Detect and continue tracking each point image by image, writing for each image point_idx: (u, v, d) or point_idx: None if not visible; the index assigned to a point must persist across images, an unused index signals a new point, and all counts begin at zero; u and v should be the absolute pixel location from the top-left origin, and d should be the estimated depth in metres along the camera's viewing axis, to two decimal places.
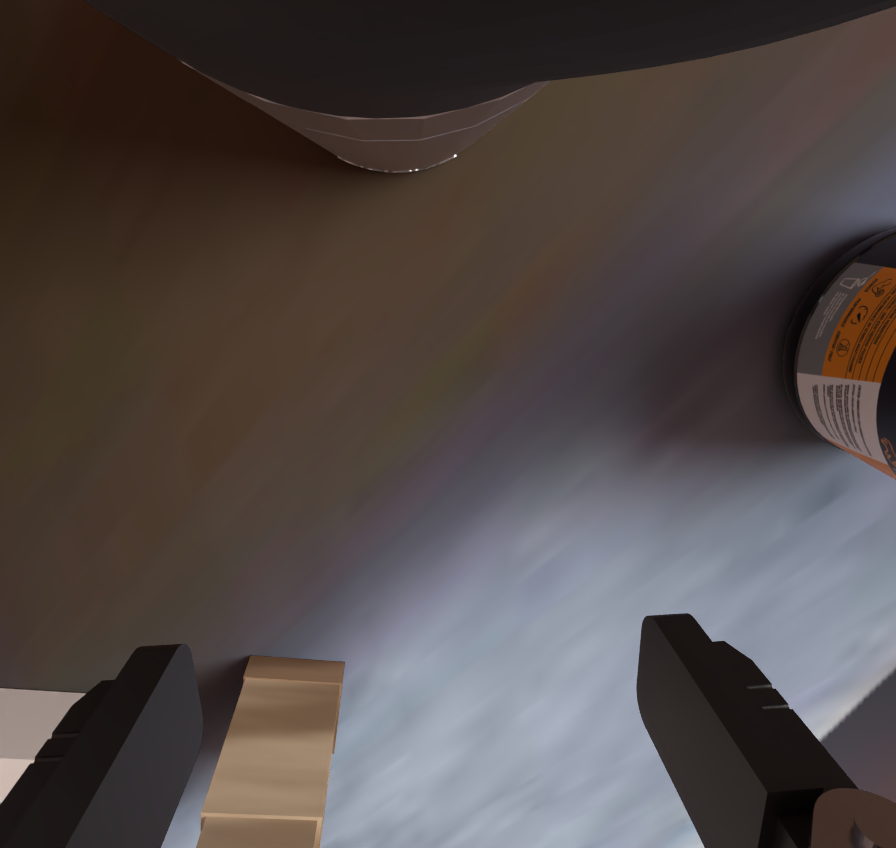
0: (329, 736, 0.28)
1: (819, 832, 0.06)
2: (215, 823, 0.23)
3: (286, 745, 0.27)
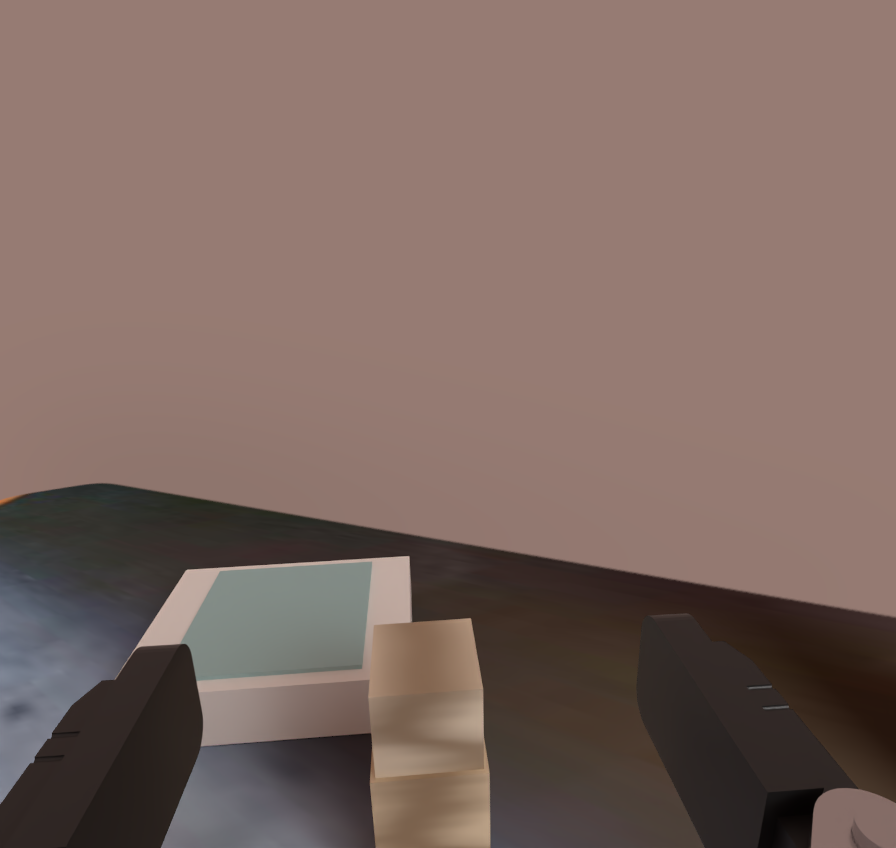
0: (489, 838, 0.25)
1: (819, 832, 0.06)
2: None
3: None
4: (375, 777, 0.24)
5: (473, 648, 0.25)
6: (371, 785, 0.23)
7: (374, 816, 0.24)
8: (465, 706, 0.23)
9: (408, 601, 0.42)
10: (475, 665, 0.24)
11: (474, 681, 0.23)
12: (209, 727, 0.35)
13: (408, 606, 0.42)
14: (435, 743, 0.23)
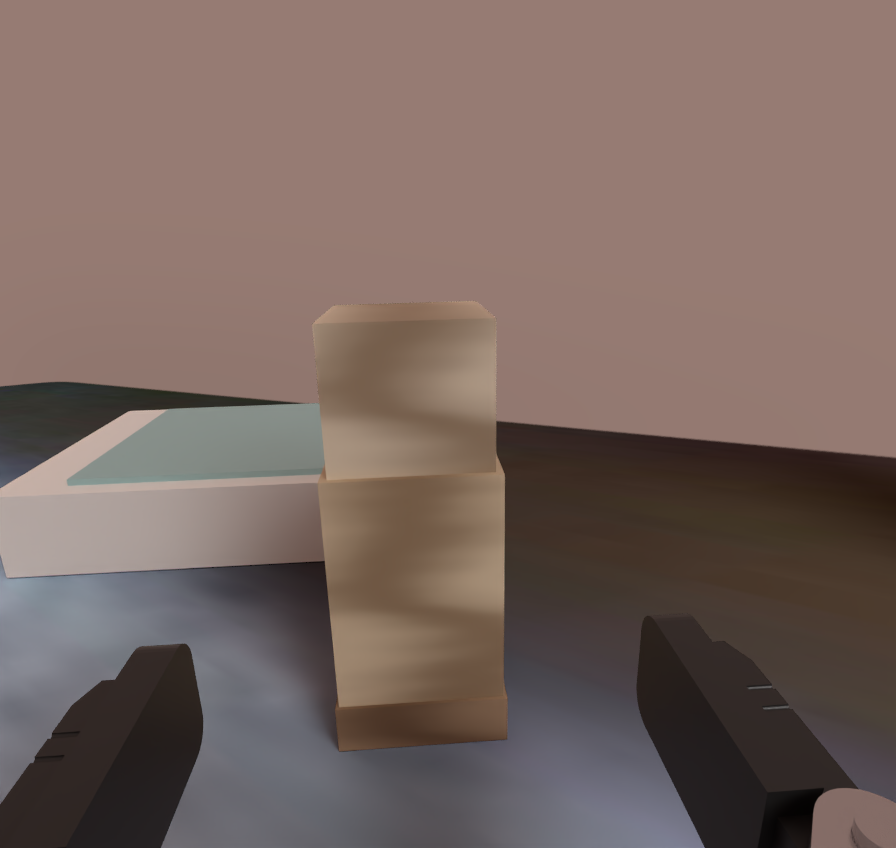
0: (503, 600, 0.16)
1: (818, 832, 0.06)
2: None
3: None
4: (326, 479, 0.15)
5: (480, 308, 0.16)
6: (320, 488, 0.15)
7: (325, 546, 0.15)
8: (468, 350, 0.14)
9: None
10: (482, 312, 0.15)
11: (481, 316, 0.15)
12: (130, 544, 0.27)
13: None
14: (420, 419, 0.15)
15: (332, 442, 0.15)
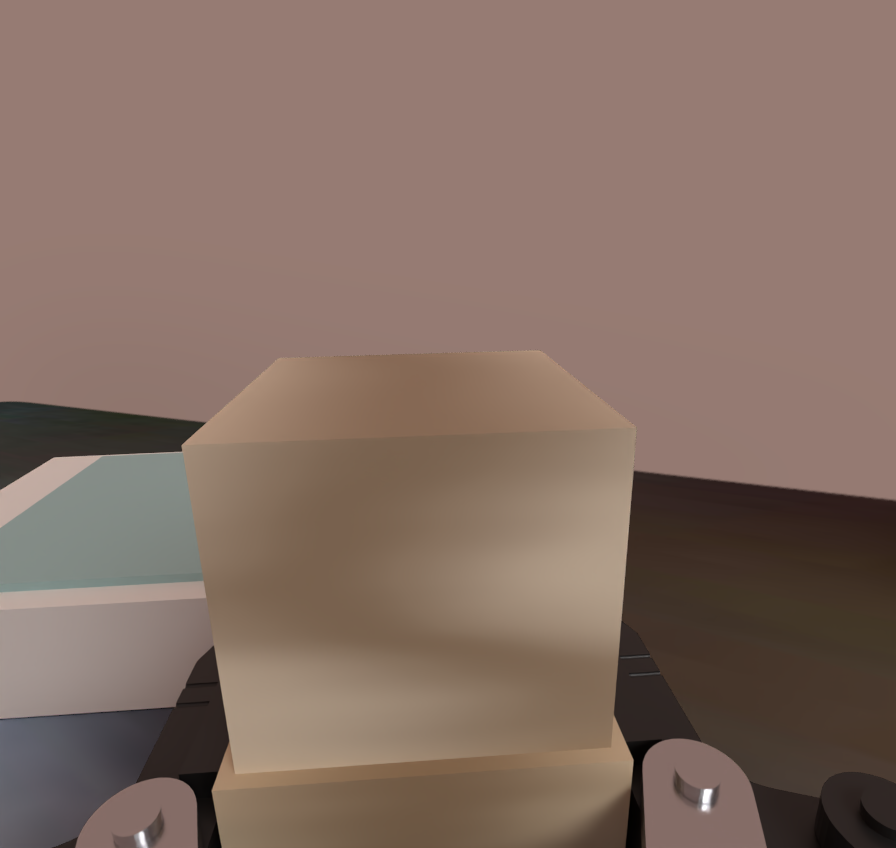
0: None
1: (644, 775, 0.07)
2: None
3: None
4: (236, 772, 0.07)
5: (565, 376, 0.08)
6: (218, 799, 0.07)
7: None
8: (565, 502, 0.06)
9: None
10: (582, 394, 0.07)
11: (593, 416, 0.06)
12: (6, 682, 0.18)
13: None
14: (447, 649, 0.06)
15: (245, 701, 0.06)
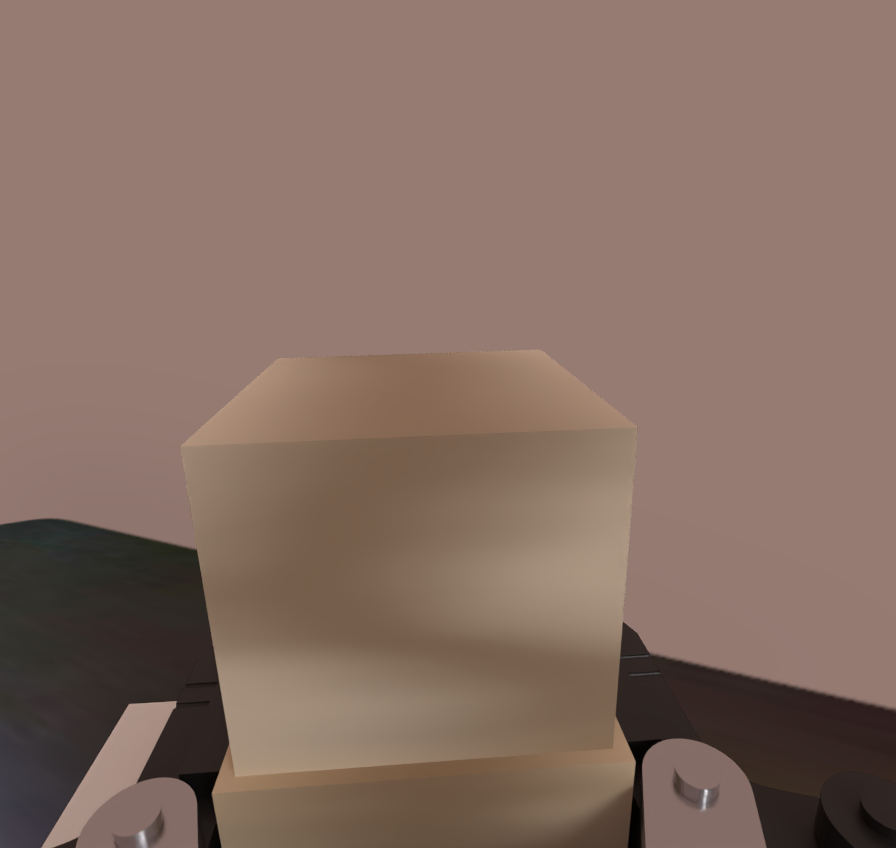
0: None
1: (643, 775, 0.07)
2: None
3: None
4: (236, 775, 0.07)
5: (565, 376, 0.08)
6: (219, 802, 0.07)
7: None
8: (565, 502, 0.06)
9: None
10: (582, 394, 0.07)
11: (594, 415, 0.06)
12: None
13: None
14: (448, 650, 0.06)
15: (245, 703, 0.06)
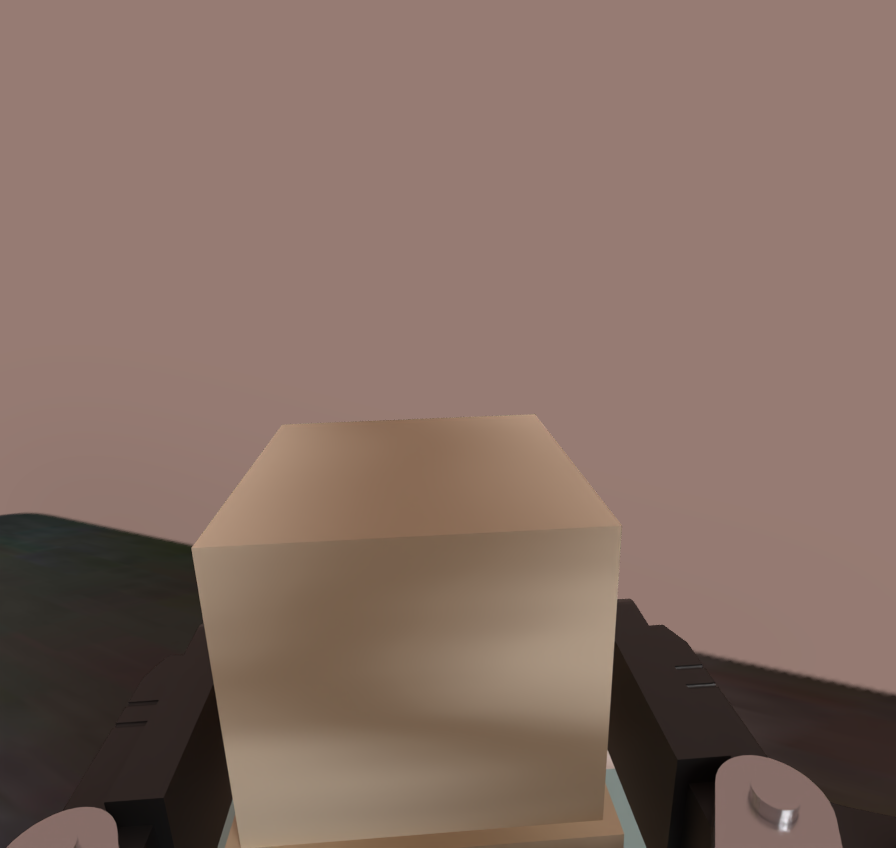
0: None
1: (718, 794, 0.07)
2: None
3: None
4: (242, 847, 0.07)
5: (557, 452, 0.08)
6: None
7: None
8: (554, 594, 0.06)
9: None
10: (572, 478, 0.07)
11: (582, 509, 0.07)
12: None
13: None
14: (444, 731, 0.07)
15: (251, 781, 0.07)
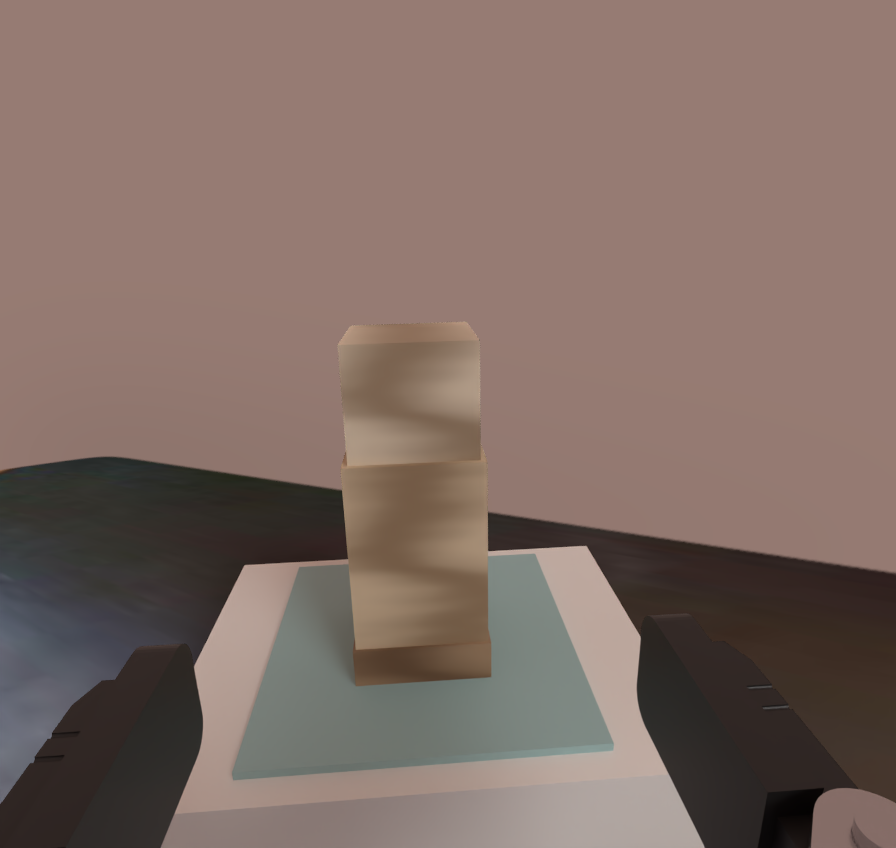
0: (487, 562, 0.21)
1: (819, 832, 0.06)
2: None
3: None
4: (347, 466, 0.19)
5: (468, 329, 0.21)
6: (342, 472, 0.19)
7: (346, 518, 0.20)
8: (458, 365, 0.18)
9: (626, 618, 0.25)
10: (470, 334, 0.20)
11: (469, 338, 0.19)
12: None
13: (631, 627, 0.25)
14: (421, 418, 0.19)
15: (352, 436, 0.19)
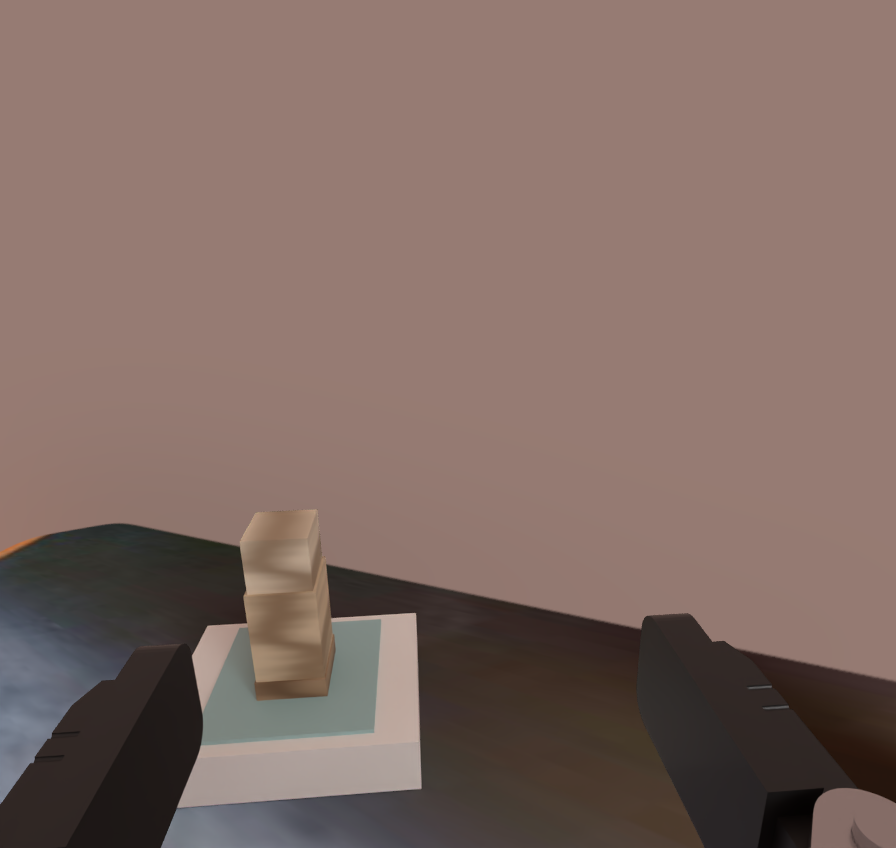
0: (320, 638, 0.41)
1: (818, 832, 0.06)
2: (320, 557, 0.43)
3: (323, 614, 0.43)
4: (247, 594, 0.40)
5: (311, 522, 0.41)
6: (244, 598, 0.39)
7: (247, 619, 0.40)
8: (297, 549, 0.39)
9: (415, 662, 0.46)
10: (308, 529, 0.40)
11: (304, 535, 0.39)
12: (234, 787, 0.38)
13: (415, 667, 0.45)
14: (281, 572, 0.39)
15: (248, 581, 0.39)
